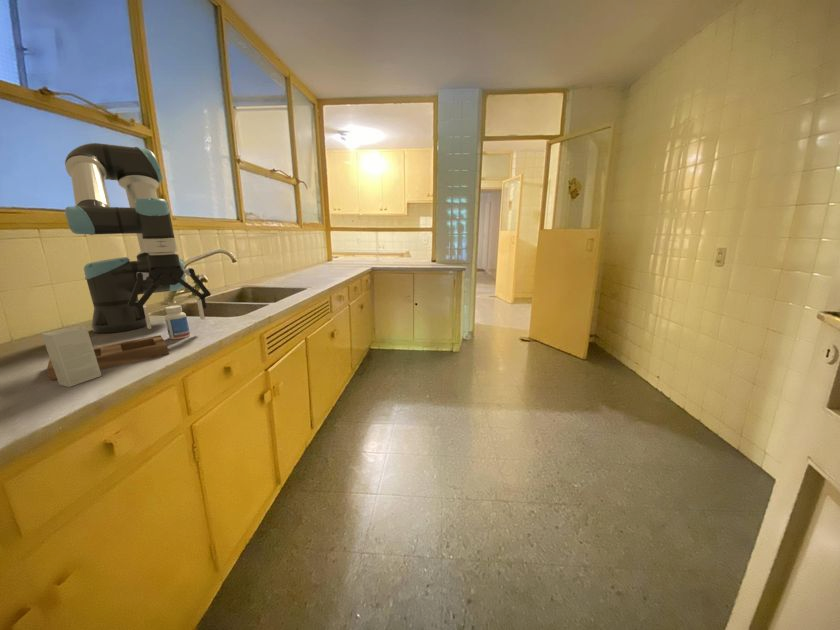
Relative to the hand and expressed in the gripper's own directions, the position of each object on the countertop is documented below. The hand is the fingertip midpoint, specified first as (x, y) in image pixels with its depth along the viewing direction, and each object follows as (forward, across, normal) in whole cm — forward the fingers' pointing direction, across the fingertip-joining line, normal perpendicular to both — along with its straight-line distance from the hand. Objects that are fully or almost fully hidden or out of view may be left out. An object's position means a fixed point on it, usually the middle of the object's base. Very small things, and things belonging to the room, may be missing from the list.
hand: (177, 323), depth 103 cm
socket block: (+5, -16, -10) cm, 19 cm away
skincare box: (+5, -22, -20) cm, 30 cm away
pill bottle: (+5, 0, 0) cm, 5 cm away
